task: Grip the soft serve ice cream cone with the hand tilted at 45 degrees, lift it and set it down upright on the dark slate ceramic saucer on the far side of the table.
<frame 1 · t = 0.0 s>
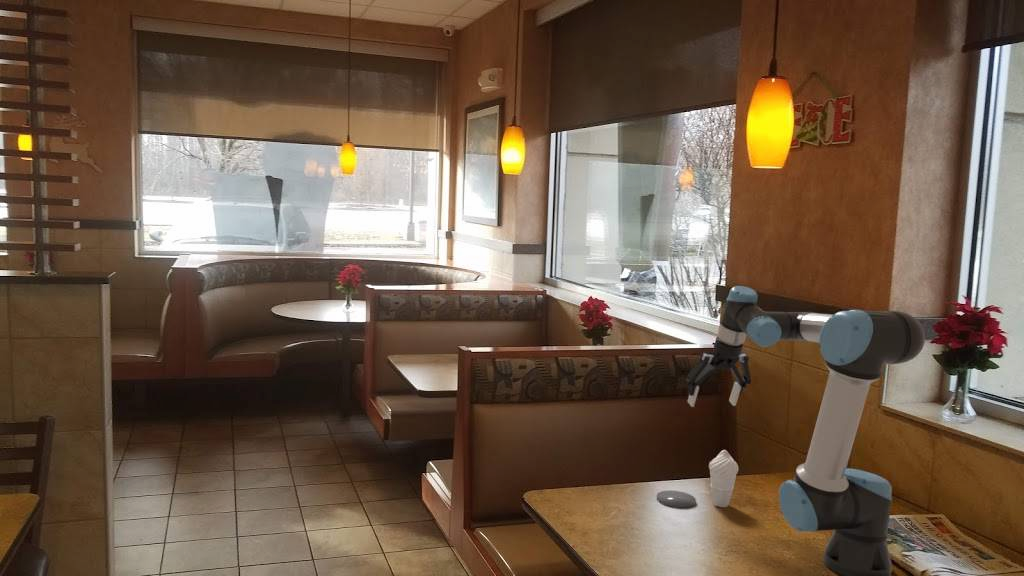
hand: (711, 403, 234), 28 cm above the table, tool tilted 20°, fingers open, 13 cm apart
soft serve ice cream cone: (720, 505, 232), on the table
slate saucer: (675, 500, 233), on the table
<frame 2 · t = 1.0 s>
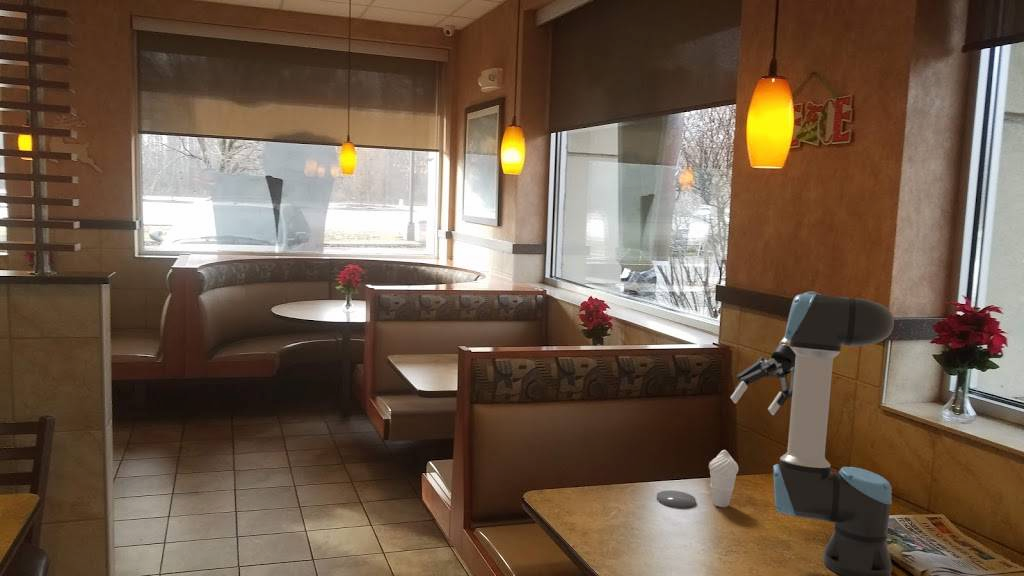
hand: (751, 406, 234), 28 cm above the table, tool tilted 45°, fingers open, 13 cm apart
nothing on the table moved.
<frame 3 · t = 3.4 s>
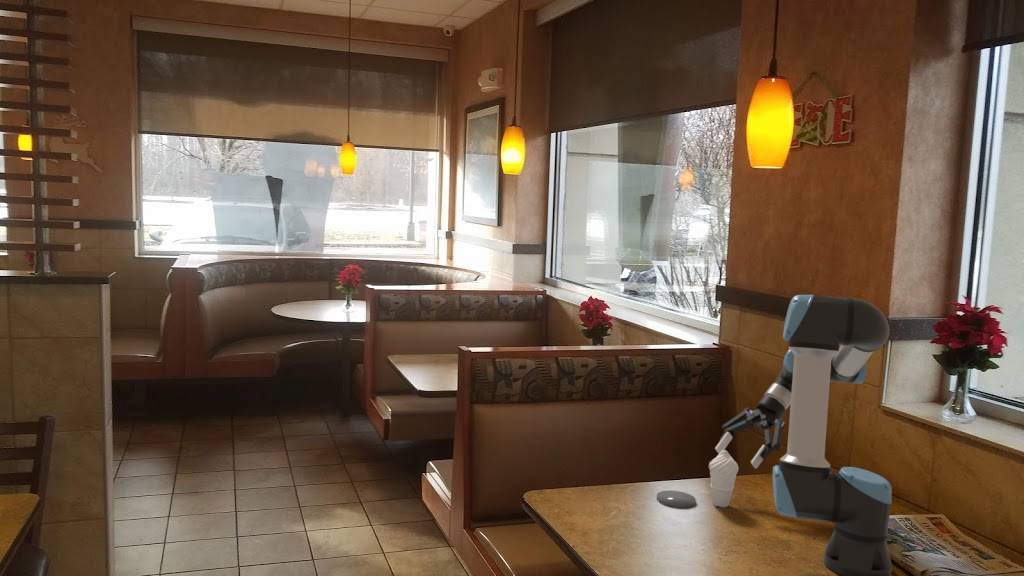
hand: (735, 458, 234), 13 cm above the table, tool tilted 45°, fingers open, 13 cm apart
nothing on the table moved.
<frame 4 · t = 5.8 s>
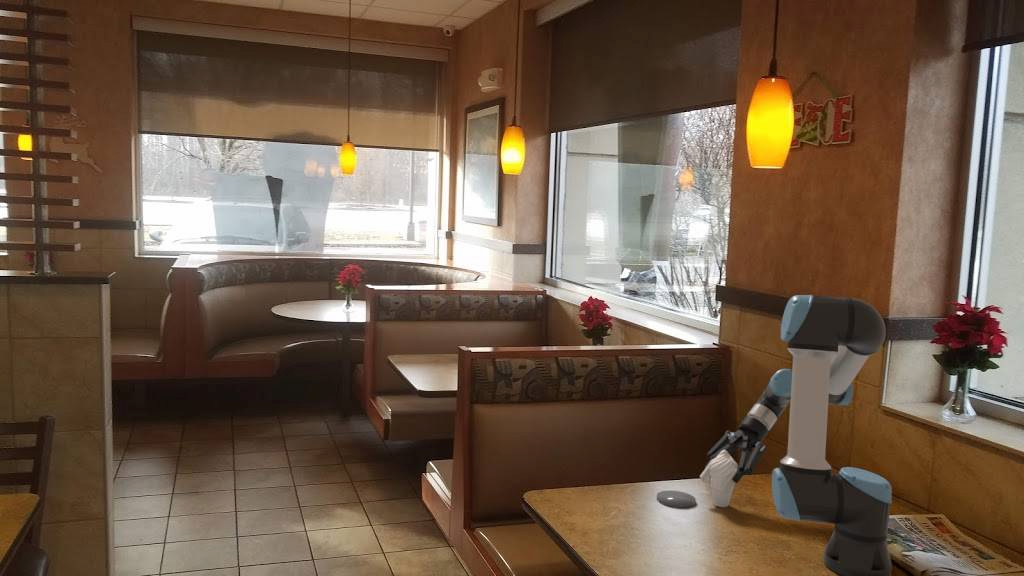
hand: (713, 484, 229), 6 cm above the table, tool tilted 45°, fingers closed on soft serve ice cream cone, 8 cm apart
soft serve ice cream cone: (720, 505, 232), on the table, touching gripper
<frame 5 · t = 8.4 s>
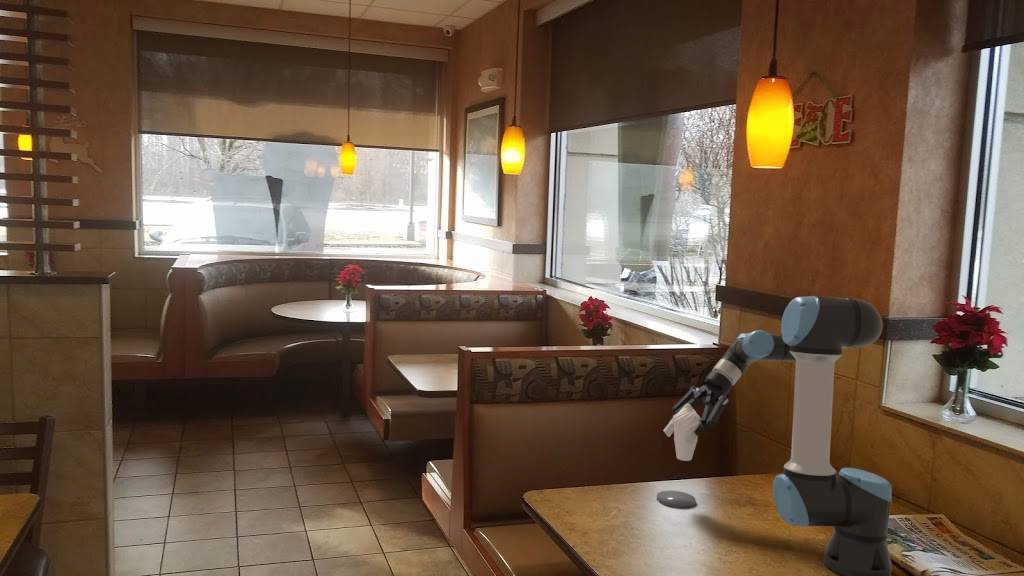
hand: (676, 438, 230), 19 cm above the table, tool tilted 45°, fingers closed on soft serve ice cream cone, 8 cm apart
soft serve ice cream cone: (683, 459, 232), point 12 cm above the table, touching gripper
when the fingers open (9 cm above the table, at t = 11.2 s): soft serve ice cream cone drops 1 cm, resting on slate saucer.
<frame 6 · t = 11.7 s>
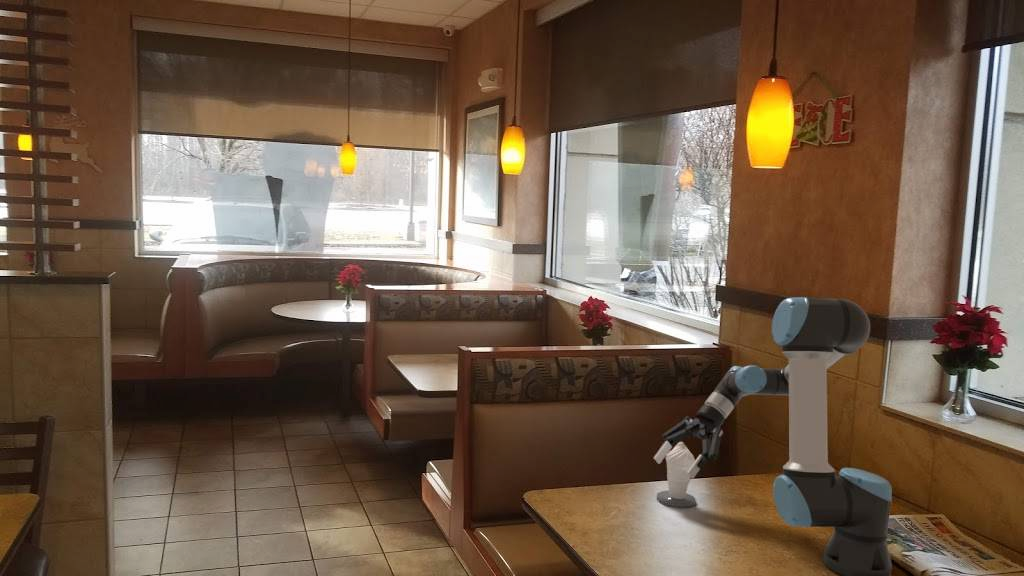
hand: (672, 468, 230), 10 cm above the table, tool tilted 45°, fingers open, 13 cm apart
soft serve ice cream cone: (676, 497, 233), point 1 cm above the table, touching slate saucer
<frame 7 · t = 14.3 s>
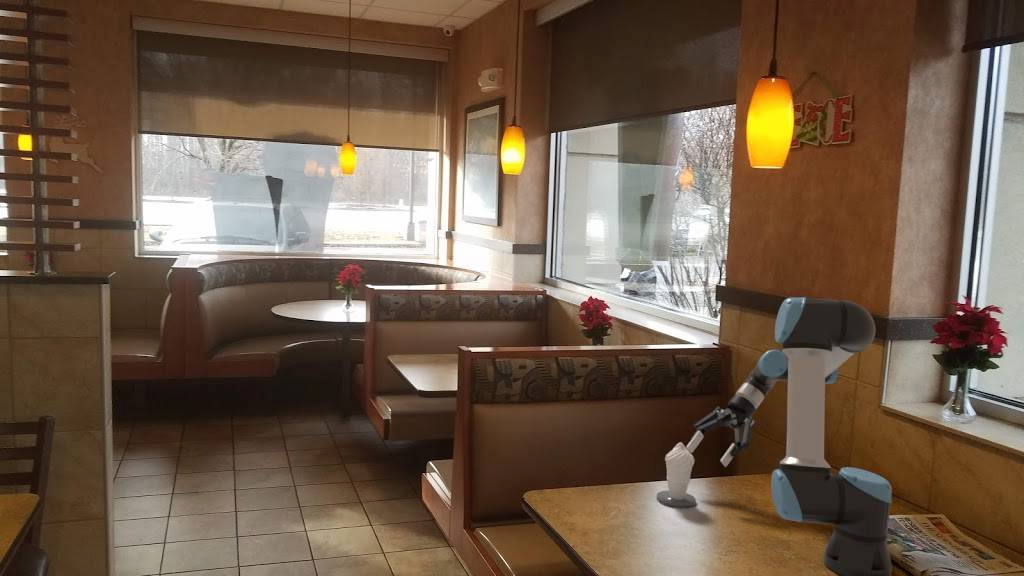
hand: (705, 456, 237), 12 cm above the table, tool tilted 45°, fingers open, 13 cm apart
nothing on the table moved.
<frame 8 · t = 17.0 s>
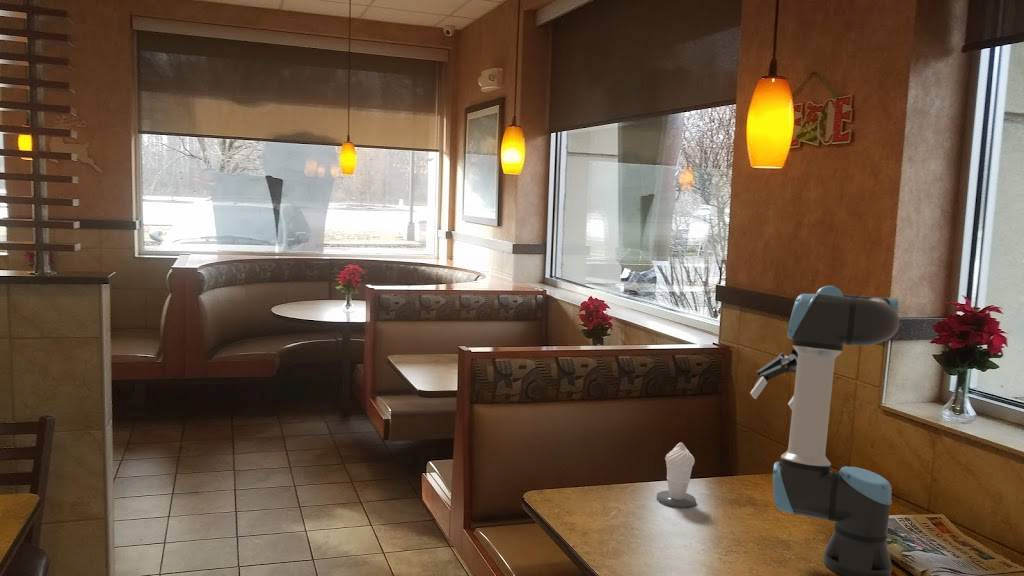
hand: (771, 401, 233), 30 cm above the table, tool tilted 45°, fingers open, 13 cm apart
nothing on the table moved.
at the end: soft serve ice cream cone 0.2 cm off-centre on the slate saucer, point 0.8 cm above the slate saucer's base; soft serve ice cream cone tilted 0°; the gripper is holding nothing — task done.
